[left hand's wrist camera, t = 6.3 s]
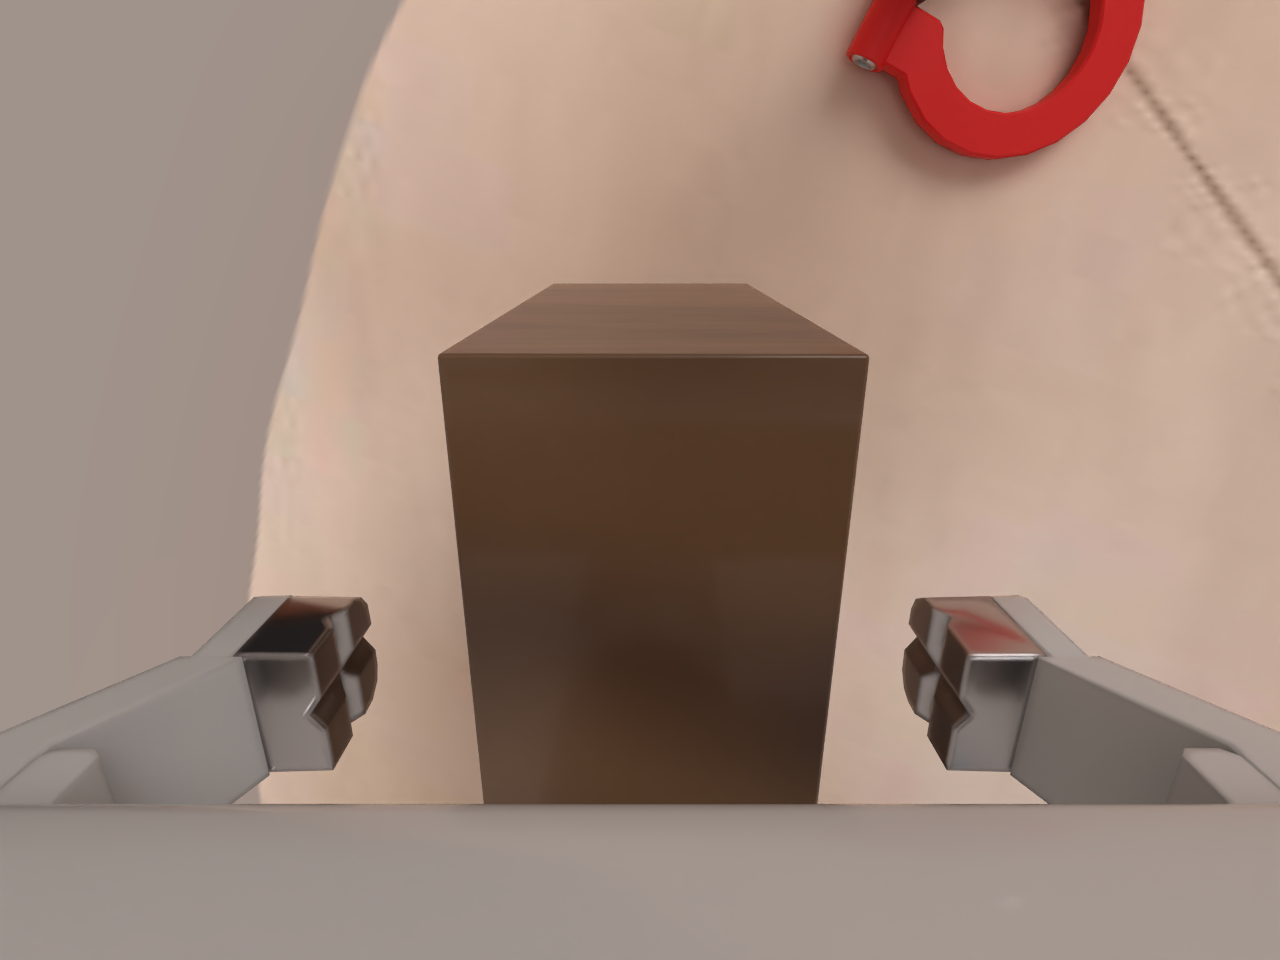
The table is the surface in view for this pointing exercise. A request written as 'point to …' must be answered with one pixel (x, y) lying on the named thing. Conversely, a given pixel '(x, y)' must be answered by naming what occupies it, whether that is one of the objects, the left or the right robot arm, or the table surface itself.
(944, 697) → the left robot arm
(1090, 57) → the tow hook
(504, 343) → the box
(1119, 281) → the table surface
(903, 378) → the table surface
